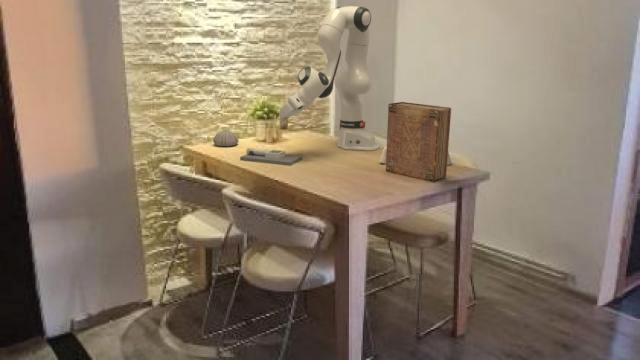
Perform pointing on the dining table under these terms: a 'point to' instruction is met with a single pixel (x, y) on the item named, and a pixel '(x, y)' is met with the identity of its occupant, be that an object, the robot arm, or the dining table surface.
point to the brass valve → (284, 124)
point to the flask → (449, 160)
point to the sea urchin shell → (225, 138)
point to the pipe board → (270, 156)
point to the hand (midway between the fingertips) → (282, 119)
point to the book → (418, 140)
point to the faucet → (383, 155)
